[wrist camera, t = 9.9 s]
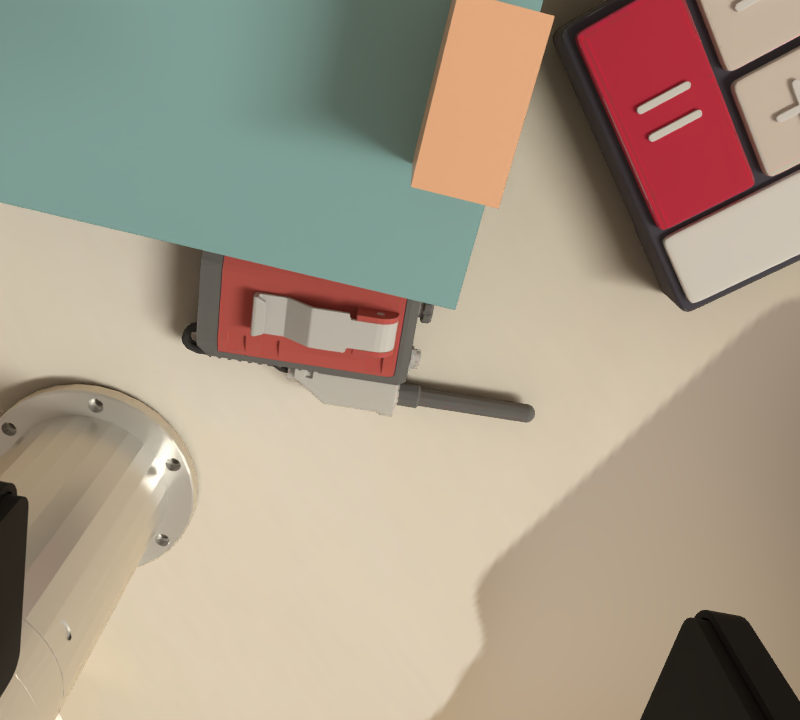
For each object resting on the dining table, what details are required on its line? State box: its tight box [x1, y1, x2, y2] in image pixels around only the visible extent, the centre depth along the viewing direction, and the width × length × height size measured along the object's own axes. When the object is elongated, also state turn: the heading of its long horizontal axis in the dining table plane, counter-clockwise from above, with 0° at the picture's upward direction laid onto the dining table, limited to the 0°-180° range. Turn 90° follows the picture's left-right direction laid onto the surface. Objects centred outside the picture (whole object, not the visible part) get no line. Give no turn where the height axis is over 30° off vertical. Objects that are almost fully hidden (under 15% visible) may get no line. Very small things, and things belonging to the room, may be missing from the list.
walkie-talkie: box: [182, 250, 535, 422], centre depth 41 cm, size 9×4×20 cm
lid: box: [0, 0, 555, 310], centre depth 26 cm, size 17×20×6 cm
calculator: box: [553, 0, 800, 312], centre depth 36 cm, size 11×4×15 cm
